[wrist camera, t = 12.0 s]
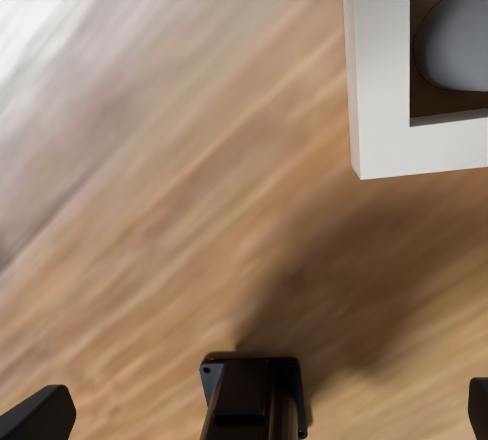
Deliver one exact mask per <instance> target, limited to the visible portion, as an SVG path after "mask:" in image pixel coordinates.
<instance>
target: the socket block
mask: <svg viewBox="0 0 488 440" xmlns="http://www.w3.org/2000/svg"><path fill="white" fill-rule="evenodd" d="M343 8H344V28H345V48H346V69H347V89H348V109H349V130H350V150H351V166H352V167H353V169H354V170H355V172H356V173H357V175H358V176H359V178H360V179H361V180H365V179H374V178H384V177H393V176H403V175H412V174H422V173H432V172H441V171H451V170H460V169H470V168H479V167H488V108H483V109H475V110H468V111H460V112H452V113H445V114H437V115H429V116H421V117H414V118H409V91H410V0H343Z"/></svg>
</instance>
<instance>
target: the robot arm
mask: <svg viewBox="0 0 488 440" xmlns="http://www.w3.org/2000/svg"><path fill="white" fill-rule="evenodd" d="M289 365H294V367H290V366H289ZM205 367H208V368H210V369H207V368H205ZM199 371H200V375H201V379H202V384H203V388H204V393H205V397H206V401H207V406H208V411H207V414H206V418H205V422H204V425H203V429H202V433H201V437H200V440H302V439H305V438H306V437H307V435H308V431H307V421H306V412H305V404H304V395H303V386H302V378H301V369H300V363H299V361H298V360H297V359H296V358H292V357H287V358H251V359H214V360H204V361H202V363H201V365H200V368H199ZM468 415H469V419H470V422H471V425H472V428H473V431H474V433H475V436H476V439H477V440H488V377H477V378H472V379H471V381H470V385H469V399H468ZM75 419H76V409H75V406H74V403H73V401H72V398H71V395H70V393H69V390H68V388H67V387H66V386H65V385H62V384H61V385H48V386H46V387H44V388H42V389H41V390H39V391H38V392H36V393H35V394H33V395H32V396H30V397H29V398H27V399H26V400H24V401H22V402H21V403H19V404H18V405H16V406H15V407H13V408H12V409H10V410H9V411H7V412H6V413H4V414H3V415H1V416H0V440H68V438H69V435H70V433H71V430H72V428H73V425H74V423H75ZM299 431H301V432H299Z"/></svg>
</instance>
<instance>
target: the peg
mask: <svg viewBox="0 0 488 440" xmlns="http://www.w3.org/2000/svg"><path fill="white" fill-rule="evenodd" d="M414 58H415V63H416V65H417V68H418V70H419V72H420V73H421V75H422V76H423V77H424V78H425V79H426V80H427V81H428V82H429V83H430V84H432V85H434V86H436V87H438V88H441V89H446V90H463V91H487V92H488V0H442V1H441V2H439V3H438V4H437V5H436V6H434V7H433V8H432V9H431V10H430V11H429V13H428V14H427V15H426V16H425V18H424V19H423V21H422V23H421V24H420V27H419V29H418V31H417V34H416V37H415V42H414Z"/></svg>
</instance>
